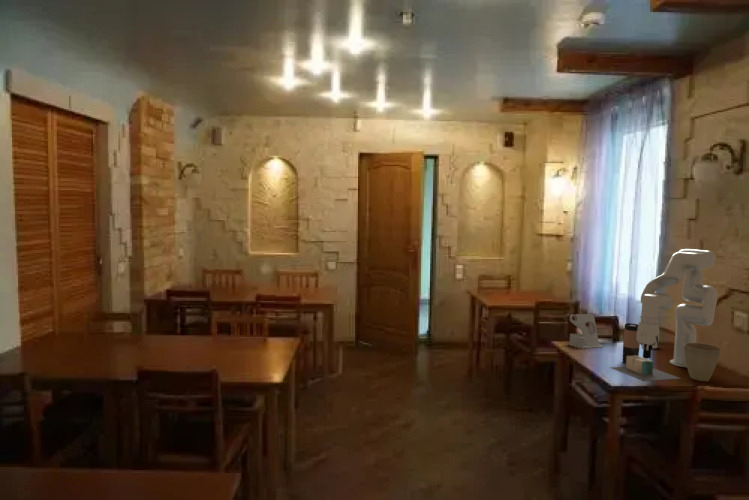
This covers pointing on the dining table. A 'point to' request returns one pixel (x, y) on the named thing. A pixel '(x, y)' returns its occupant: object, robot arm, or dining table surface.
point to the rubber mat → (646, 377)
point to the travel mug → (630, 341)
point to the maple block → (639, 364)
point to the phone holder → (584, 332)
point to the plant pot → (701, 360)
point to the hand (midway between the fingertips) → (646, 357)
